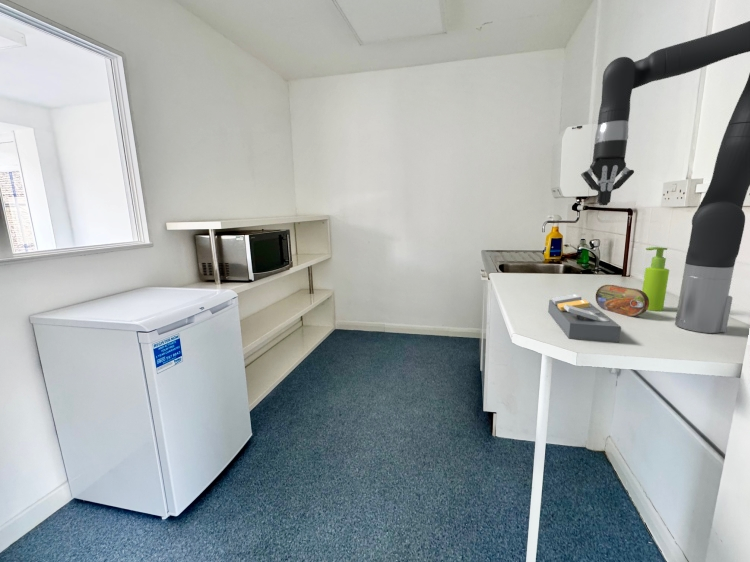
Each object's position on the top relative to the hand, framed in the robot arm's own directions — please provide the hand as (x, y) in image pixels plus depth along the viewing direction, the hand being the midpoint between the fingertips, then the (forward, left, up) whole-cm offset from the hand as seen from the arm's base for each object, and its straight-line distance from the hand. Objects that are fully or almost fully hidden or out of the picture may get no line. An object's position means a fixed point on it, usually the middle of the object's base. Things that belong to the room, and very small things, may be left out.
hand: (603, 205), depth 98 cm
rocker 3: (+8, +18, -27) cm, 34 cm away
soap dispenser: (-21, -13, -33) cm, 41 cm away
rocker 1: (+8, +4, -27) cm, 29 cm away
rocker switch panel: (+6, +11, -33) cm, 35 cm away
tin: (-10, -6, -33) cm, 35 cm away
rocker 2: (+8, +11, -27) cm, 31 cm away
